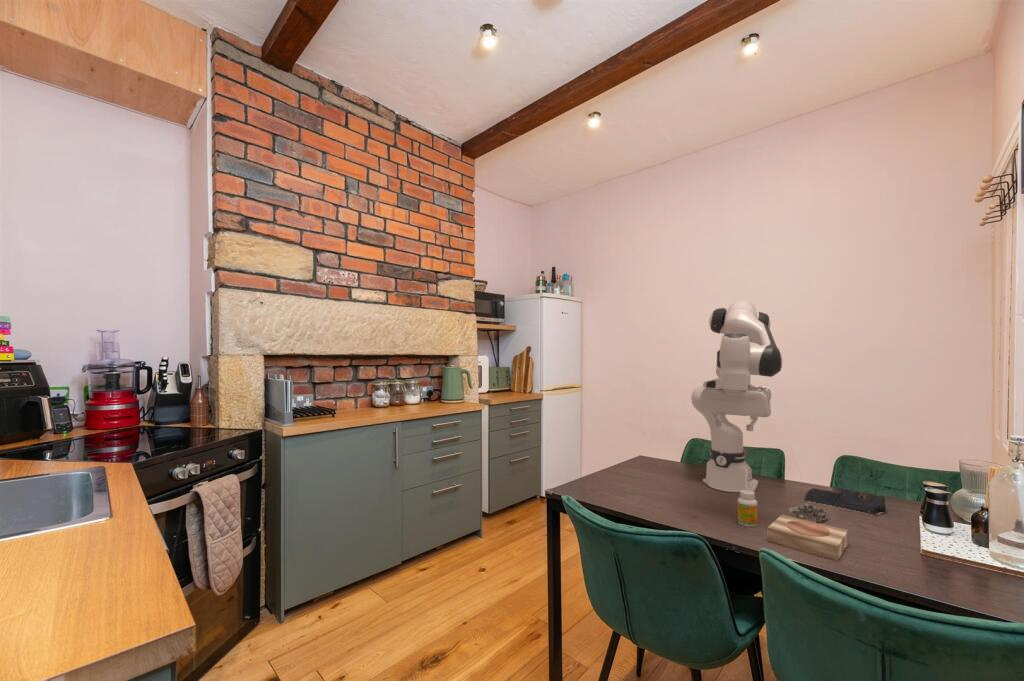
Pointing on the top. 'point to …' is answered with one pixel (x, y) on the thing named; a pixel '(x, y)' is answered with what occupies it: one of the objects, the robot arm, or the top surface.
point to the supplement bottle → (747, 509)
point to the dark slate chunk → (847, 500)
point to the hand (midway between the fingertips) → (733, 428)
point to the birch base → (808, 536)
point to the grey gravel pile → (808, 512)
